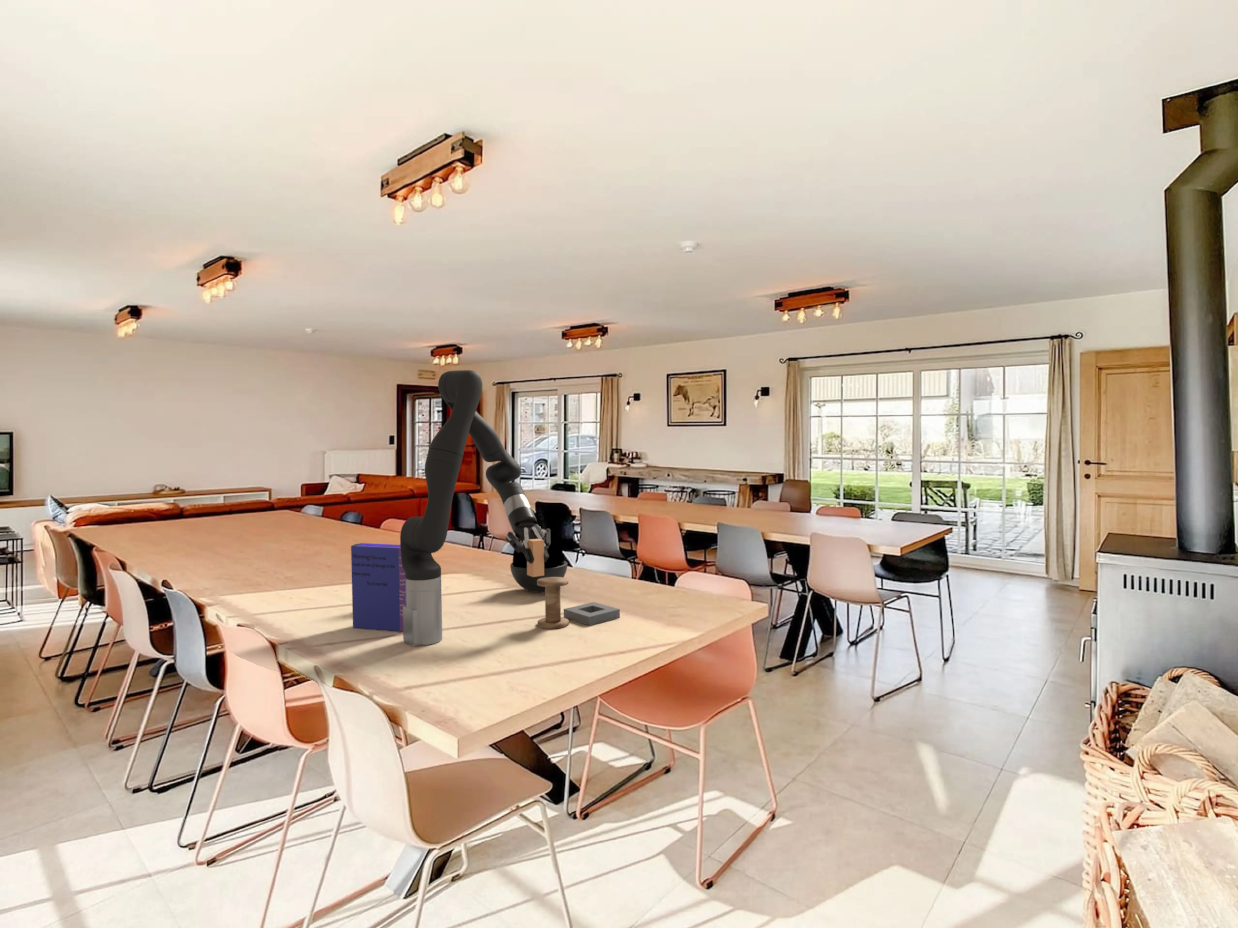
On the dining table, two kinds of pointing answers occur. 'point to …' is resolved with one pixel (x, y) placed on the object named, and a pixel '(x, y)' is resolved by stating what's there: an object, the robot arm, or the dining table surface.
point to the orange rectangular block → (536, 558)
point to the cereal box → (377, 587)
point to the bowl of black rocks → (551, 568)
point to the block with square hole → (591, 613)
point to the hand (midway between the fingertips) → (539, 560)
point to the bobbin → (552, 603)
